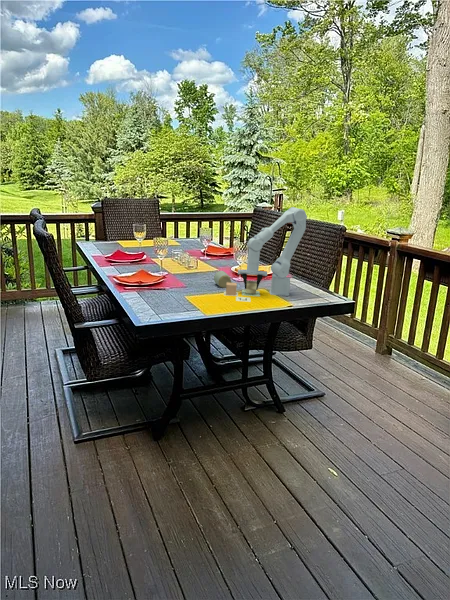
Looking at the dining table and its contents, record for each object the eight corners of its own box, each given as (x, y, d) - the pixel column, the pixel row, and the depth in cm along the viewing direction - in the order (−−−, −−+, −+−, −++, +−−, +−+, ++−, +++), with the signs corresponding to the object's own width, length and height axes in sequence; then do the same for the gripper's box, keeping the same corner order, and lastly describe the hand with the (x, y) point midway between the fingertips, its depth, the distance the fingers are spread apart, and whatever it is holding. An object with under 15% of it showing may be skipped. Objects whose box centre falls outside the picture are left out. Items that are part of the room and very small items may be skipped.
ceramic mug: (218, 288, 225) (219, 274, 223) (213, 284, 233) (214, 270, 230) (237, 288, 229) (238, 274, 227) (231, 284, 236) (232, 270, 234)
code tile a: (250, 298, 213) (250, 297, 213) (250, 302, 206) (250, 301, 206) (235, 297, 213) (236, 296, 213) (236, 301, 206) (236, 300, 206)
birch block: (255, 290, 222) (256, 281, 220) (256, 293, 217) (256, 284, 215) (245, 290, 222) (246, 280, 220) (246, 292, 217) (246, 283, 215)
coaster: (259, 292, 224) (259, 291, 224) (260, 297, 216) (260, 296, 216) (241, 290, 224) (241, 290, 224) (241, 295, 216) (242, 295, 216)
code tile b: (237, 292, 221) (237, 292, 220) (237, 296, 214) (238, 296, 214) (224, 291, 221) (224, 291, 220) (223, 295, 214) (223, 295, 214)
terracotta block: (235, 292, 219) (236, 283, 218) (236, 295, 215) (236, 285, 213) (226, 291, 219) (226, 282, 218) (225, 294, 215) (226, 284, 213)
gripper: (238, 263, 211) (236, 289, 215) (268, 265, 211) (265, 291, 215) (238, 260, 218) (236, 286, 222) (267, 262, 218) (265, 288, 222)
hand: (251, 288), depth 219 cm, fingers closed on birch block, 5 cm apart
